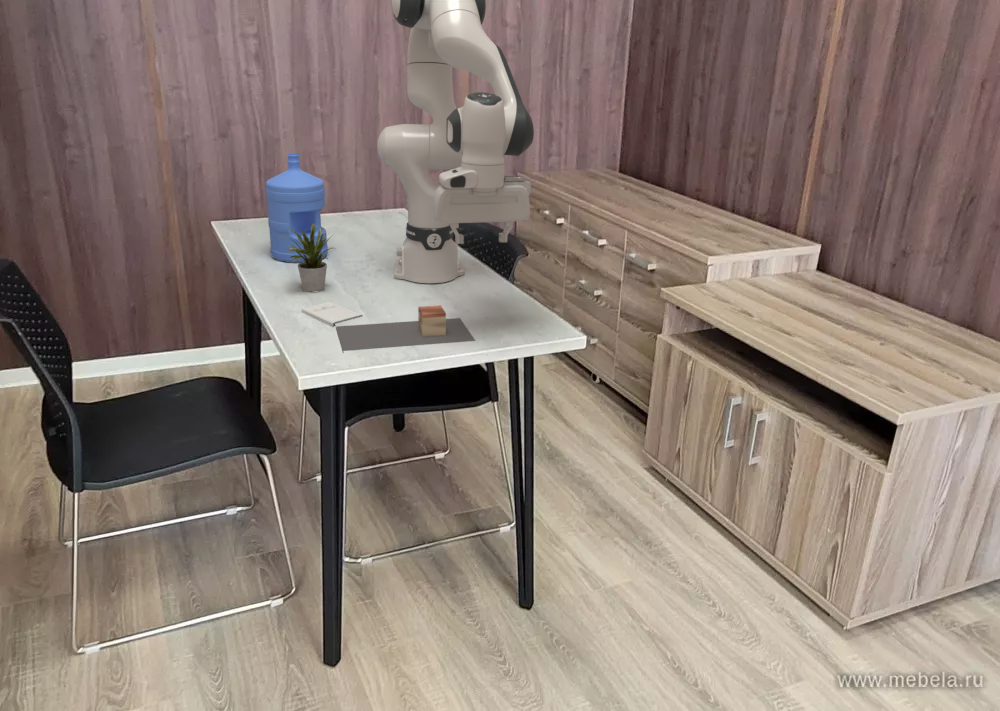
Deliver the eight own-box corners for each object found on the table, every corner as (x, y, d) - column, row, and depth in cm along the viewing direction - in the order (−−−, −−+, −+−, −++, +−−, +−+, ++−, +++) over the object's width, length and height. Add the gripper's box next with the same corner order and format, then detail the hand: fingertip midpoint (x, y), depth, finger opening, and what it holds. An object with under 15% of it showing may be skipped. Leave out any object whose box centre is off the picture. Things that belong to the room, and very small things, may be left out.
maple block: (418, 328, 180) (418, 306, 178) (440, 326, 182) (440, 305, 180) (422, 336, 176) (422, 314, 174) (445, 334, 177) (445, 313, 175)
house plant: (283, 279, 210) (279, 216, 204) (338, 277, 213) (335, 216, 207) (281, 297, 197) (277, 231, 191) (340, 295, 200) (337, 230, 194)
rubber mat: (335, 329, 180) (335, 326, 179) (459, 320, 187) (459, 317, 187) (343, 353, 167) (343, 350, 167) (475, 343, 175) (475, 340, 175)
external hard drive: (333, 329, 181) (301, 314, 189) (363, 320, 187) (331, 306, 194) (332, 322, 180) (301, 307, 188) (362, 314, 186) (331, 300, 194)
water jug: (259, 258, 226) (250, 156, 215) (292, 245, 240) (285, 148, 229) (307, 266, 221) (301, 161, 210) (338, 252, 235) (334, 153, 224)
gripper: (526, 173, 173) (524, 237, 178) (431, 174, 168) (431, 240, 173) (535, 178, 167) (532, 244, 172) (437, 180, 162) (437, 248, 167)
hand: (481, 242), depth 173 cm, fingers open, 8 cm apart
